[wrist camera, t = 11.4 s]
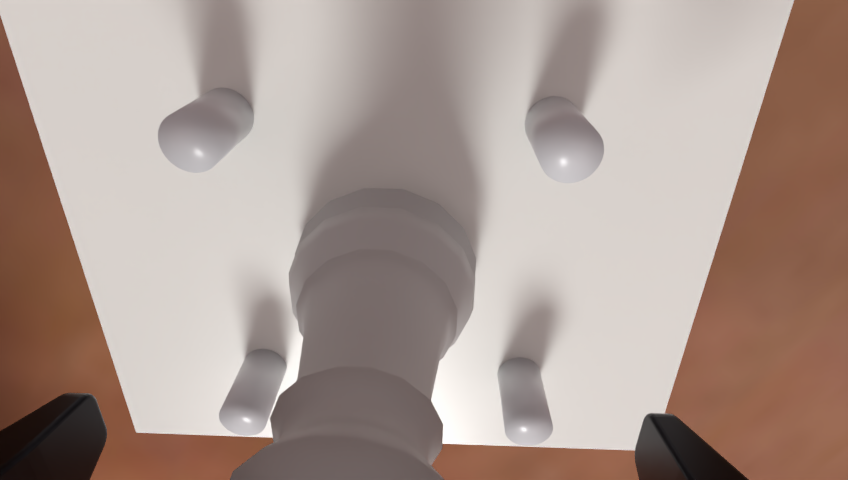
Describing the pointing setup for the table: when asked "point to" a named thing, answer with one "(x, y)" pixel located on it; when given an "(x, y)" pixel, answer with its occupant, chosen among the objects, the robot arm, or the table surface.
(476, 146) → the peg board
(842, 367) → the table surface
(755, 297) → the table surface
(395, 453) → the rook chess piece
